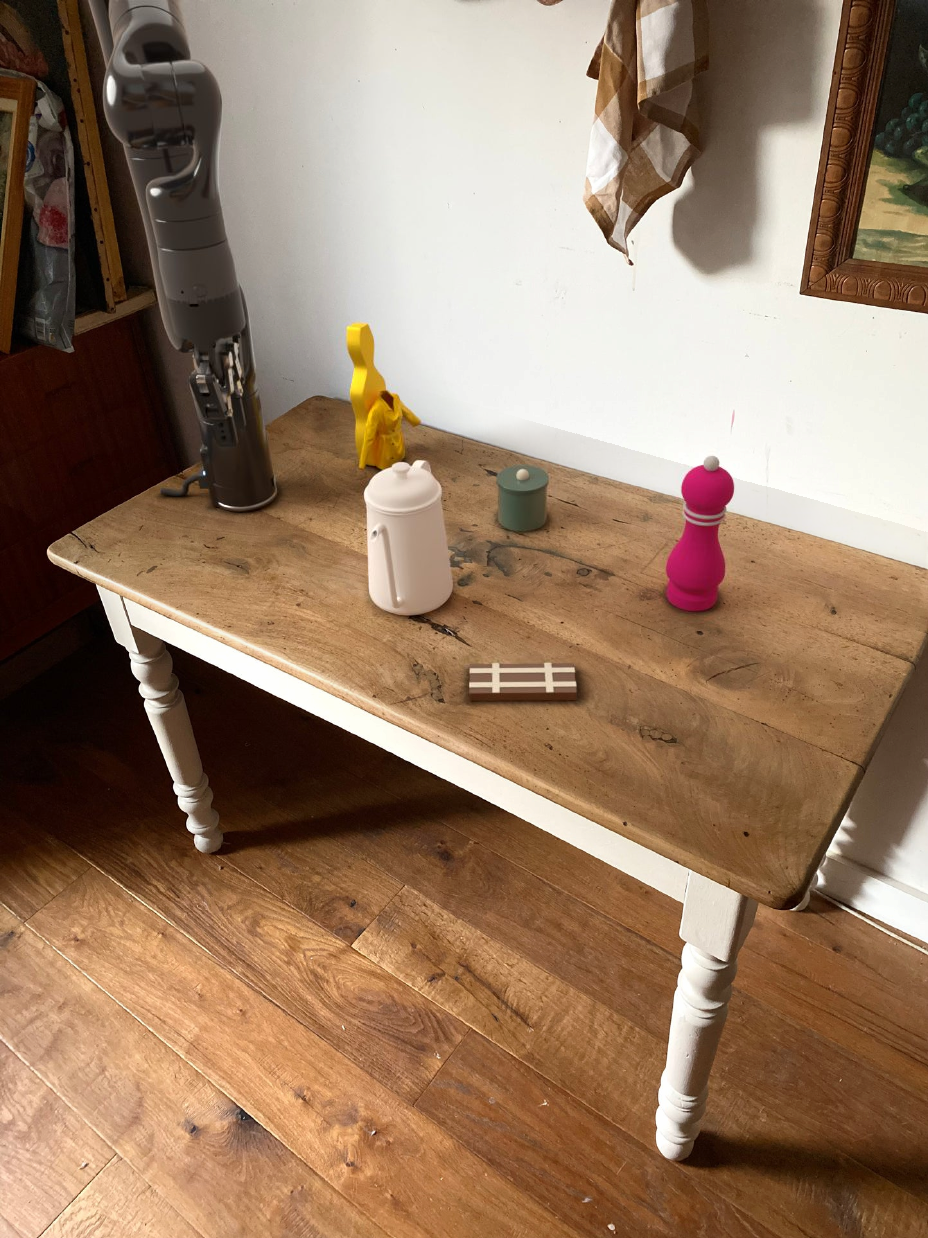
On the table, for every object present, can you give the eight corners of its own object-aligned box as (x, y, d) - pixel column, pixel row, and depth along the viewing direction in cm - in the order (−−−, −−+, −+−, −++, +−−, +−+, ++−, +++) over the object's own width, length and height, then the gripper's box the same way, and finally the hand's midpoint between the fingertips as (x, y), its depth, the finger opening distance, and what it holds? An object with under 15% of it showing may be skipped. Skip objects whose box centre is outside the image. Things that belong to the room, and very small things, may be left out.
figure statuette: (373, 490, 140) (358, 352, 127) (331, 479, 144) (313, 343, 130) (431, 441, 153) (423, 310, 139) (391, 432, 156) (380, 303, 142)
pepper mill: (723, 585, 118) (748, 446, 106) (716, 618, 113) (741, 475, 101) (667, 576, 120) (685, 438, 108) (658, 608, 115) (675, 467, 103)
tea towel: (469, 701, 103) (469, 692, 102) (470, 671, 107) (469, 663, 106) (576, 700, 102) (577, 691, 101) (573, 670, 106) (573, 662, 105)
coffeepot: (341, 652, 110) (321, 519, 98) (394, 540, 129) (382, 417, 118) (429, 662, 108) (419, 527, 97) (469, 546, 127) (465, 422, 116)
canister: (496, 532, 130) (496, 483, 125) (496, 505, 136) (496, 457, 131) (549, 532, 130) (550, 482, 125) (546, 505, 136) (547, 456, 131)
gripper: (183, 265, 100) (215, 410, 111) (145, 310, 89) (184, 467, 100) (251, 263, 100) (276, 409, 111) (221, 308, 89) (252, 466, 99)
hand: (232, 435), depth 105 cm, fingers open, 3 cm apart
